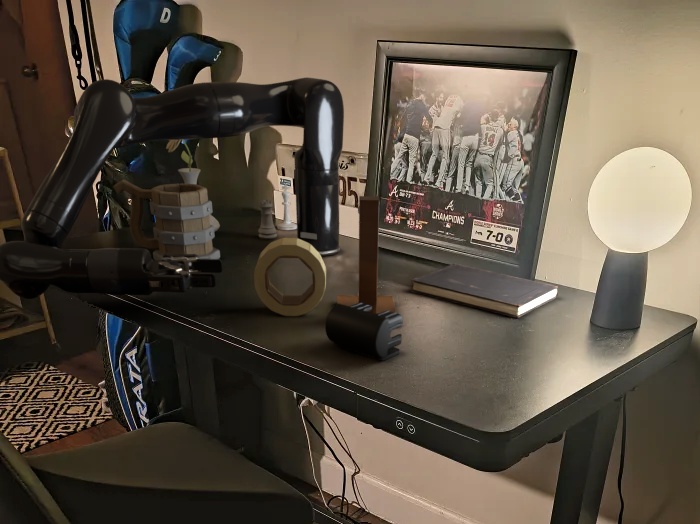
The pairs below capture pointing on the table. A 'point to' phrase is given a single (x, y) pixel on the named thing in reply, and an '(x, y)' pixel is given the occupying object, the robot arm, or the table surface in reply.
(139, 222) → the tankard
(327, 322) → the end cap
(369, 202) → the stand
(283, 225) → the chess piece
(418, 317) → the table surface
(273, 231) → the rook chess piece
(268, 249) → the masking tape
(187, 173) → the flower in vase
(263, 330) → the table surface
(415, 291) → the hardcover book
